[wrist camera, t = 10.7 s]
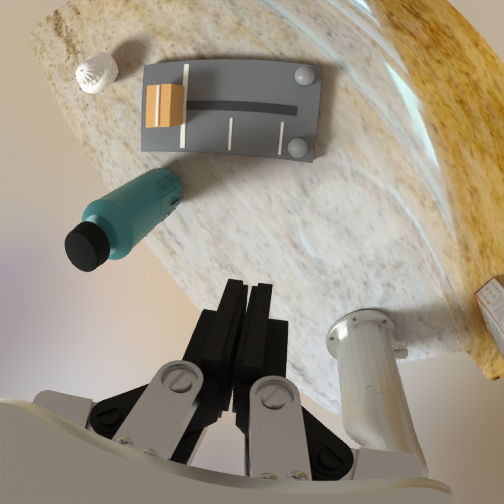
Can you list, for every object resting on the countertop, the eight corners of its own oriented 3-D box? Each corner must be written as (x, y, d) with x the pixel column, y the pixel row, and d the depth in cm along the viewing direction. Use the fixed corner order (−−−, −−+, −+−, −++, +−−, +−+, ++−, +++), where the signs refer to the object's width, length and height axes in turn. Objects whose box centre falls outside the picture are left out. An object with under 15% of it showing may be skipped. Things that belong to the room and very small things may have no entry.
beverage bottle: (146, 162, 36) (45, 213, 18) (190, 166, 36) (102, 221, 18) (147, 206, 39) (59, 278, 22) (188, 211, 39) (114, 294, 21)
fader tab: (184, 86, 28) (170, 83, 25) (182, 125, 31) (168, 127, 27) (162, 87, 29) (146, 85, 25) (160, 125, 31) (144, 127, 27)
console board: (320, 69, 28) (324, 64, 24) (311, 160, 33) (313, 165, 30) (151, 66, 29) (138, 63, 26) (148, 149, 35) (135, 153, 32)
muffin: (134, 63, 29) (106, 57, 23) (113, 99, 32) (83, 100, 26) (107, 49, 28) (77, 43, 22) (88, 84, 31) (57, 84, 25)
